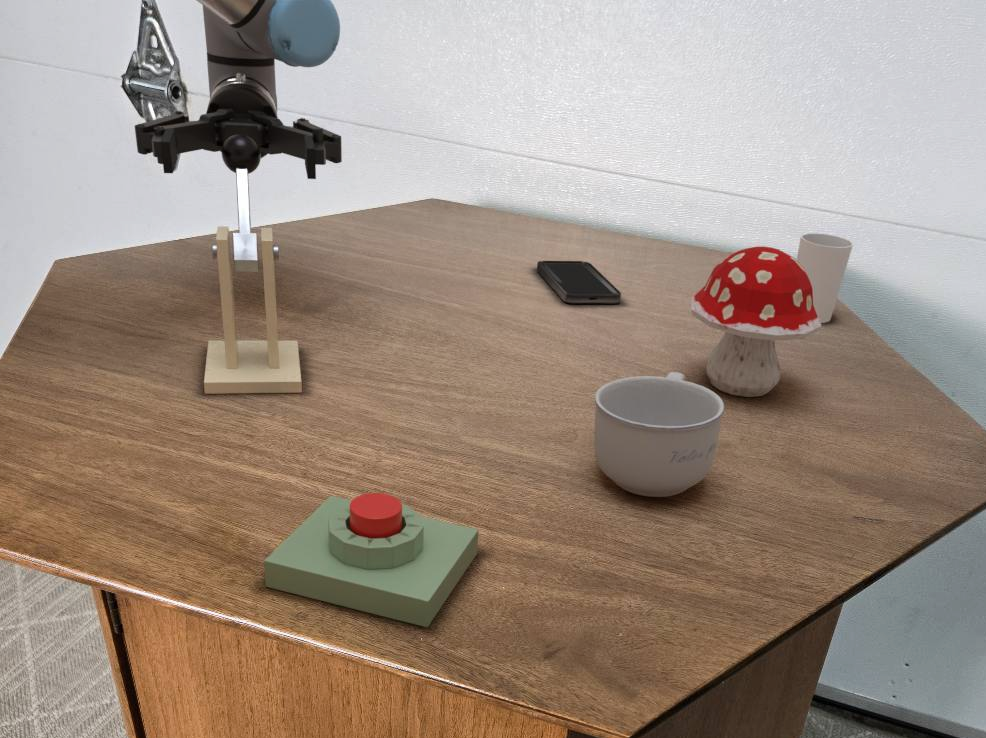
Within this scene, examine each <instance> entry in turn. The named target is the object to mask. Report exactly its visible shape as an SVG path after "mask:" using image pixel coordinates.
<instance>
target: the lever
mask: <svg viewBox="0 0 986 738" xmlns="http://www.w3.org/2000/svg"><path fill="white" fill-rule="evenodd" d="M221 158H222V161H223V163H224V165H225V166H226V167H227V168H228V169H229V170H230V171H231V172H232V173H235V179H236V180H235V181H236V201H237V222H238V224H237V225H238V232H232V253H233V254H232V255H233V264H234V266H233V267H234V271H235V272H249V273H250V272H253V273H254V272H256V273H258V272H260V260H259V243H258V234H257V233H256V232H255V233H254V232H253V233H252V225H251V224H252V221H251V202H250V200H251V199H250V183H249V180H250V179H249V174H251V173H253V172H254V171H256V170H257V169H258V167H259V165H260V162H261V159H262V158H261V154H260V150H259V147H258V145H257V144H256V143H255V141H254V140H253V139H251V138H250V137H248V136H246V135H241V134H237V135H233V136H231V137H229V138H228V139H227V140H226V141H225V142H224V144H223V146H222V152H221Z"/></svg>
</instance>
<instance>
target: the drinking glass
mask: <svg viewBox="0 0 986 738" xmlns="http://www.w3.org/2000/svg"><path fill="white" fill-rule="evenodd" d="M853 247H854V243H853V242H852V241H851V240H849V239H847V238H844V237H841V236H837V235H832V234H828V233H827V234H826V233H818V232H813V233H812V232H811V233H809V232H808V233H804V234H802V235H800V239H799V244H798V249H797V255H796V260H797V261H798V262H799V263H800V264H801V265H802V267H803V268H804V269H805V272H806V274H807V276H808V278H809V280H810V283H811V285H812V291H813V305H814V308H815V310H816V312H817V314H818V317H819V320H820V323H821V324H823V323H824V324H825V323H828V322H830V321H831V319H832V316H833V313H834V309H835V306H836V303H837V299H838V296H839V293H840V289H841V286H842V283H843V279H844V276H845V273H846V271H847V270H846V269H847V266H848V263H849V259H850V256H851V254H852V253H851V252H852V250H853Z"/></svg>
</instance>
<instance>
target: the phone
mask: <svg viewBox="0 0 986 738" xmlns="http://www.w3.org/2000/svg"><path fill="white" fill-rule="evenodd" d="M536 266H537V267H536V271H537V272H538V274H539V275H540V276H541V277H542V278H543V280H544V281H545V282H546V283H547V284H548V285H549V286H550V287H551V289H552V290H553V291H554V292H555V293H556V294H557V295H558V297H559V298H560V299H561V300H562V302H564V303H567V304H572V305H573V304H574V305H576V304H577V305H579V304H581V305H583V304H584V305H585V304H588V305H589V304H590V305H591V304H594V305H596V304H606V305H607V304H612V305H614V304H619V303H621V297H622V292H620V290H619V289H618V288H617V287H616V286H615V285H613V283H611V282H610V281H609V280H608V279H607V278H606V277H605V275H603V274H602V273H601V272H600V271H599V270H598V269H597V268H596V267H595V266H594V265H592V263H590V262H588V261H584V260H539V261H537V265H536Z"/></svg>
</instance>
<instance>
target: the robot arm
mask: <svg viewBox="0 0 986 738" xmlns="http://www.w3.org/2000/svg"><path fill="white" fill-rule="evenodd" d="M196 2H198V3H199V4H201V5H202V13H203V14H202V15H203V23H204V34H205V35H204V36H205V47H206V61H207V62H206V65H207V76H208V77H207V78H208V89H209V91H208V92H209V99H208V105H207V108H206V112H205V113H204V114H203V113H202V114H200V116H199V119H198V120H190V115H188V114H186V113H185V112H184V111H181V110H176V111H173V112H171V113H170V115H167V116H162V117H159V118H155V119H153V120H152V119H151V120H149V121H144V122H142V123H137V124H135V125H134V134H135V143H136V149H137V153H138V154H140V155H144V156H145V155H148V154H152V156H153V157H154V158H156V160H157V163H158V165H162V167H163V174H174V171H175V168H176V165H177V161H178V155H180V154H184V153H189V152H195V151H200V150H204V151H209V152H213V153H216V152H220V153H222V146H223V144H224V142H225V141H226V140H227V139H228V138H229V137H231V136H233V135H237V134H241V135H246V136H248V137H250V138H251V139H253V140H254V141H255V143H256V144H257V145H258V147H259V150H260V154H261V159H263V158H264V157H266V156H267V155H270V156H271V155H279V154H280V155H281V154H284V155H288V156H290V157H295V158H298V159H301V160H304V166H305V171H306V172H305V173H306V177H307V180H316V179H317V172H316V171H317V169H316V166H318V165H319V166H325V165H327V161H328V162H331V163H333V164H341V163H342V161H343V160H342V159H343V158H342V157H343V154H342V152H343V151H342V149H343V147H342V136H341V135H340V134H337V133H335V132H333V131H330V130H327V129H325V128H324V127H320V126H318V125H315V124H313V123H311V122H310V120H308V119H306V118H303V117H300V118H297V119H296V120H293V121H292V126H291V125H285V124H284V123H283V122H282V121H281V119H280V118H279V117H278V96H277V86H276V85H277V84H276V65H275V61H279V62H282V63H283V64H285V65H287V66H290V67H293V68H298V67H302V68H316V67H318V66H321V65H323V64H324V63H325V62H327V61H328V60H329V59H330V58H331V57H332V56H333V55H334V53H335V52H336V48H337V47H338V44H339V41H340V37H341V22H340V18H339V17H340V16H339V14H338V11H337V9H336V7H335V5H334V3H333V2H332V0H196Z"/></svg>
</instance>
